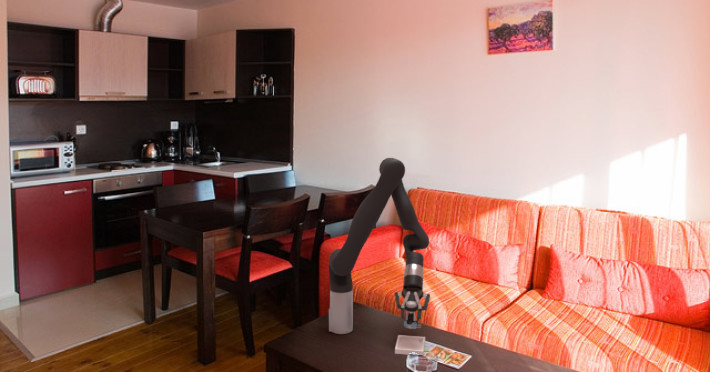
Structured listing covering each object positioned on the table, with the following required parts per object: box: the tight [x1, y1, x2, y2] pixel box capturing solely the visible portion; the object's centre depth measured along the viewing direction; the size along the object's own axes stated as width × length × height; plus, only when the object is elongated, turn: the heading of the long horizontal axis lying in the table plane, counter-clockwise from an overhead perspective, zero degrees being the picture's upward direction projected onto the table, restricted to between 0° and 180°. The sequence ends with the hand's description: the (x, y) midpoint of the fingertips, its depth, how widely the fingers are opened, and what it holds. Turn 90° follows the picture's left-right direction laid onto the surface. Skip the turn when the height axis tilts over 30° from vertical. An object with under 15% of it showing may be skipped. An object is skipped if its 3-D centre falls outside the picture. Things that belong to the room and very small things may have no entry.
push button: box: [403, 301, 422, 330], centre depth 202 cm, size 7×5×10 cm
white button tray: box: [394, 334, 426, 356], centre depth 204 cm, size 10×12×2 cm
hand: (410, 319), depth 201 cm, fingers closed on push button, 5 cm apart
